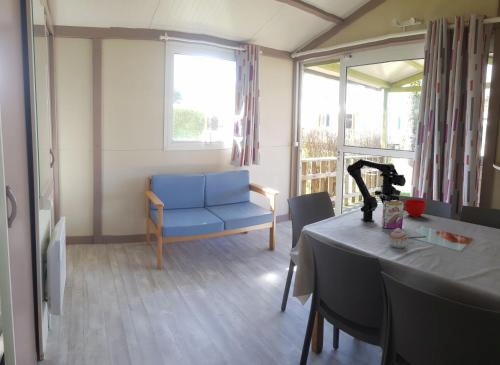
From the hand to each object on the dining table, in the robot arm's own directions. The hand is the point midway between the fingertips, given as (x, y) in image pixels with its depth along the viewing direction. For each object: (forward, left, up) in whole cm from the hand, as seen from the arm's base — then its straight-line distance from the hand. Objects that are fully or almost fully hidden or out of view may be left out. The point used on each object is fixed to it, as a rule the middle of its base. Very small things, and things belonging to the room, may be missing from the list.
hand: (385, 208), depth 242 cm
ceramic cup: (-17, +30, -10) cm, 36 cm away
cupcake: (+40, -16, -10) cm, 44 cm away
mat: (+20, 0, -10) cm, 22 cm away
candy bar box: (+8, 0, -10) cm, 13 cm away
